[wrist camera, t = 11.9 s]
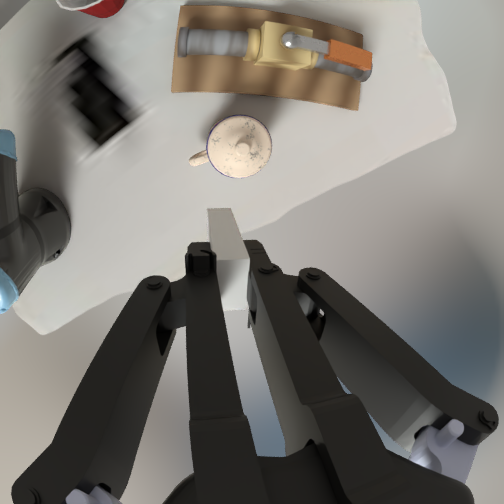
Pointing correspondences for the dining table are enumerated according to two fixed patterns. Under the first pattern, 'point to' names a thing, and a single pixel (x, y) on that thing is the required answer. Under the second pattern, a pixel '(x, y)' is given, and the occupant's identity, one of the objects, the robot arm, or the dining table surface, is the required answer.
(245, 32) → the pipe valve
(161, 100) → the dining table surface
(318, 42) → the valve lever
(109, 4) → the plastic cup
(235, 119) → the teacup with lid
